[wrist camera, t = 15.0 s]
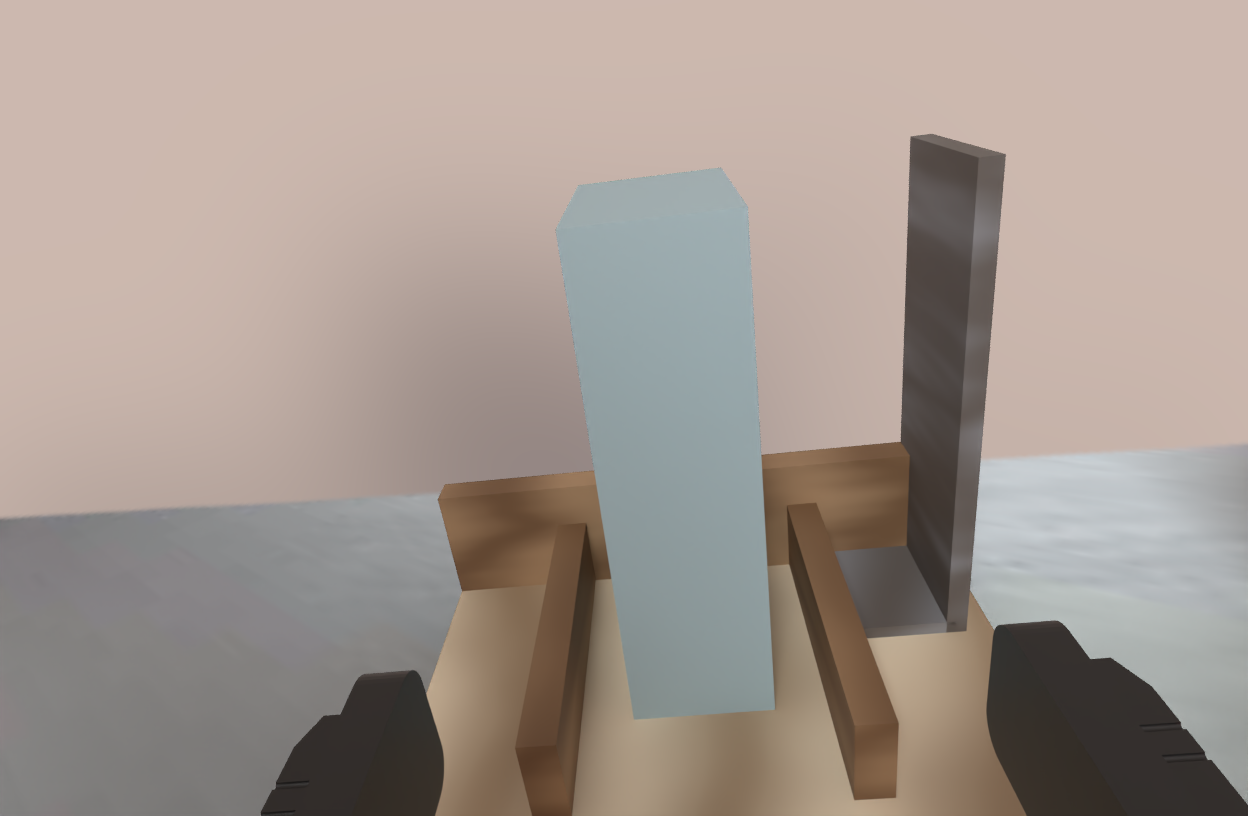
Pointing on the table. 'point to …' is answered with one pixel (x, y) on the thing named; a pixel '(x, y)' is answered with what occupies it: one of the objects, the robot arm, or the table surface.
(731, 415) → the pale blue rectangular block
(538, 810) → the wooden holder stand
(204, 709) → the table surface
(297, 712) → the table surface
